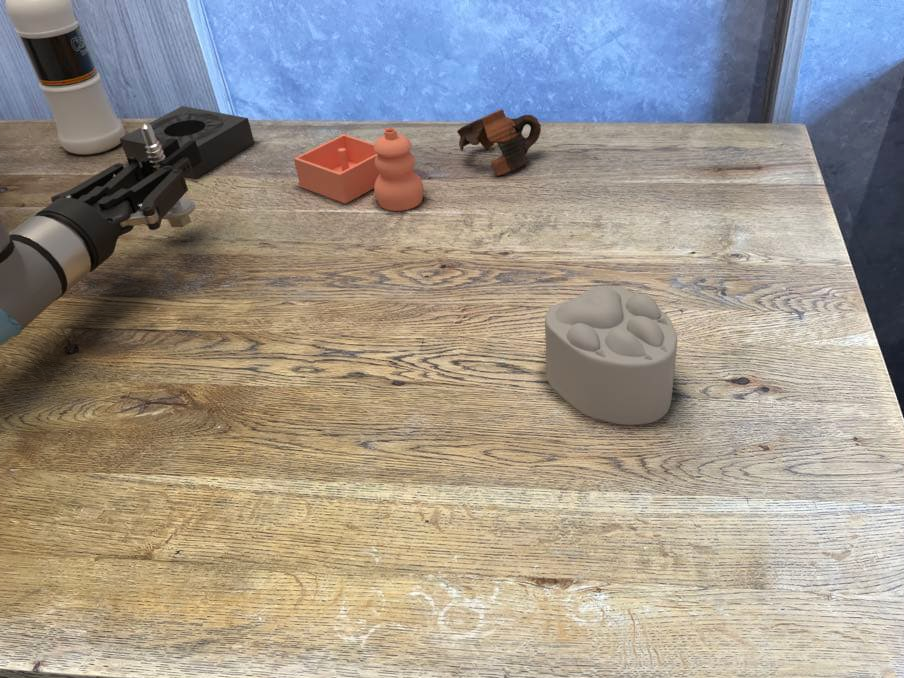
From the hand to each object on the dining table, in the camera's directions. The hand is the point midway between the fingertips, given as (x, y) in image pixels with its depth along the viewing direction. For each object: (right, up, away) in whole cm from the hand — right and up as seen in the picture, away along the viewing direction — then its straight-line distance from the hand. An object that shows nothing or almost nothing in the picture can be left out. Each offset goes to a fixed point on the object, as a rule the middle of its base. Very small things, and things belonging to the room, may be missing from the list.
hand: (186, 149), depth 103 cm
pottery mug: (+39, +3, +17) cm, 42 cm away
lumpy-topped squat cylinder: (+52, -30, -22) cm, 64 cm away
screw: (-1, -9, +1) cm, 9 cm away
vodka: (-25, +8, +25) cm, 36 cm away
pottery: (+21, -2, +11) cm, 24 cm away
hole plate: (-8, +6, +21) cm, 24 cm away
